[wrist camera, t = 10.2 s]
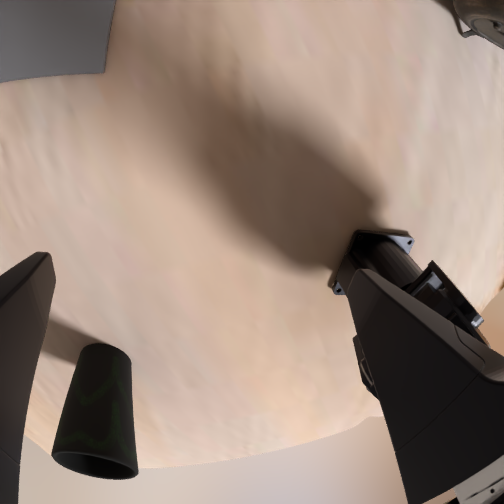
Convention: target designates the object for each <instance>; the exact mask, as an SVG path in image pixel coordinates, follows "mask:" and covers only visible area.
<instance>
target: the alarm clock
mask: <svg viewBox="0 0 504 504" xmlns="http://www.w3.org/2000/svg"><path fill="white" fill-rule="evenodd" d="M453 4H454V8H455V11H456V13H457V14H458V16H459V17H460V19H461V20H462V21H463V22H464V23H465V24H466V25H467V26H468V27H469V28H471V30H469V31H466V32H464V33H463V34H462V36H463V37H465V38H467V37H469V36H472V35H478V36H480V37H482V38H485V39H487V40H488V41H490V42H491V43H493V44H495V45H497V46H498V47H500V48H502V49H504V0H454V1H453Z"/></svg>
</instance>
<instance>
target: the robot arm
mask: <svg viewBox="0 0 504 504" xmlns="http://www.w3.org/2000/svg"><path fill="white" fill-rule="evenodd" d="M359 235H361V236H360V237H359V238H358V236H359ZM408 241H409V242H408ZM413 243H414V239H413V238H412V237H411V236H409V235H401V234H393V233H384V232H376V231H367V230H357V231H356V232H354V234H353V237H352V239H351V242H350V245H349V247H348V250H347V252H346V254H345V256H344V259H343V261H342V264H341V266H340V269H339V271H338V274H337V276H336V280H335V283H334V285H333V288H332V290H333V292H334V294H335V295H346V296H347V298H348V301H349V305H350V309H351V313H352V317H353V320H354V324H355V328H356V332H357V335H356V336H355V337H353V342H354V347H355V351H356V356H357V360H358V365H359V369H360V374H361V378H362V382H363V384H364V385H365V386H366V388H367V390H368V391H369V392H371V393H372V394H373V395H374V396H375V397H376V398H377V399H378V400H379V401H380V404H381V408H382V411H383V414H384V417H385V420H386V424H387V427H388V430H389V434H390V437H391V441H392V444H393V447H394V451H395V455H396V459H397V462H398V466H399V470H400V474H401V477H402V481H403V485H404V489H405V493H406V497H407V501H408V504H423V503H424V502H427V501H429V500H430V499H432V498H435V497H436V496H438V495H440V494H442V493H444V492H446V491H448V490H450V489H451V488H453V489H454V491H455V493H456V497H454V498H452V499H451V500H449V501H447V502H446V503H444V504H504V357H503V356H502V355H500V354H499V353H497V352H496V351H494V350H492V349H491V348H490V344H489V343H488V341H487V340H486V338H485V337H484V336H483V334H482V333H481V332H480V330H479V329H478V327H479V325H481V323H482V322H483V321H484V320H483V318H482V317H481V316H480V315H479V313H478V312H477V311H476V309H475V308H474V307H473V306H472V304H471V303H470V302H469V301H468V299H467V298H466V297H465V296H464V295H463V293H462V292H461V291H460V290H459V289H458V288H457V286H456V285H455V284H454V283H453V282H452V281H451V280H450V279H449V277H448V276H447V275H446V274H445V273H444V272H443V271H442V270H441V269H440V268H439V267H438V265H437V264H436V263H435V262H434V261H433V260H432V261H431V262H430V263H429V264H428V267H427V268H426V269H425V270H424V271H422V270H421V269H420V267H419V266H418V265H417V264H416V263H415V262H414V260H413V259H412V258H411V257H410V256H409V255H408V254H409V252H410V250H411V248H412V246H413ZM55 284H56V276H55V271H54V267H53V262H52V257H51V255H50V253H48V252H35V253H34V254H32V255H31V256H29V257H28V258H26V259H25V260H23V261H21V262H20V263H18V264H17V265H15V266H14V267H12V268H11V269H9V270H8V271H6V272H5V273H4V274H2V275H1V276H0V504H18V492H19V474H20V460H21V450H22V442H23V434H24V427H25V421H26V415H27V409H28V403H29V398H30V393H31V388H32V384H33V379H34V375H35V370H36V366H37V362H38V358H39V354H40V350H41V347H42V343H43V339H44V336H45V332H46V328H47V323H48V317H49V312H50V307H51V302H52V298H53V293H54V289H55ZM337 289H338V290H337Z"/></svg>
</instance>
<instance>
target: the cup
mask: <svg viewBox="0 0 504 504" xmlns="http://www.w3.org/2000/svg"><path fill="white" fill-rule="evenodd" d="M51 456H52V457H53V459H54V460H55V461H56V462H57V463H58V464H60V465H62V466H63V467H65V468H67V469H70V470H72V471H75V472H78V473H81V474H84V475H88V476H92V477H97V478H103V479H113V480H121V479H122V480H123V479H130V478H133V477H135V476H137V475H138V463H137V454H136V444H135V432H134V418H133V400H132V371H131V360H130V358H129V357H128V356H127V355H126V354H125V353H124V352H123V351H121V350H120V349H118V348H116V347H113V346H110V345H106V344H91V345H88V346H86V347H84V348H83V350H82V351H81V354H80V357H79V359H78V362H77V365H76V368H75V371H74V374H73V378H72V381H71V384H70V387H69V390H68V393H67V397H66V400H65V404H64V407H63V411H62V414H61V418H60V421H59V425H58V429H57V433H56V437H55V441H54V445H53V449H52V455H51Z"/></svg>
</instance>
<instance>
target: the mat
mask: <svg viewBox="0 0 504 504" xmlns="http://www.w3.org/2000/svg"><path fill="white" fill-rule="evenodd" d="M115 2H116V0H0V83H2V82H8V81H14V80H21V79H29V78H37V77H47V76H58V75H71V74H91V73H104V71H105V63H106V55H107V48H108V41H109V35H110V28H111V23H112V17H113V12H114V7H115Z"/></svg>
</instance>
